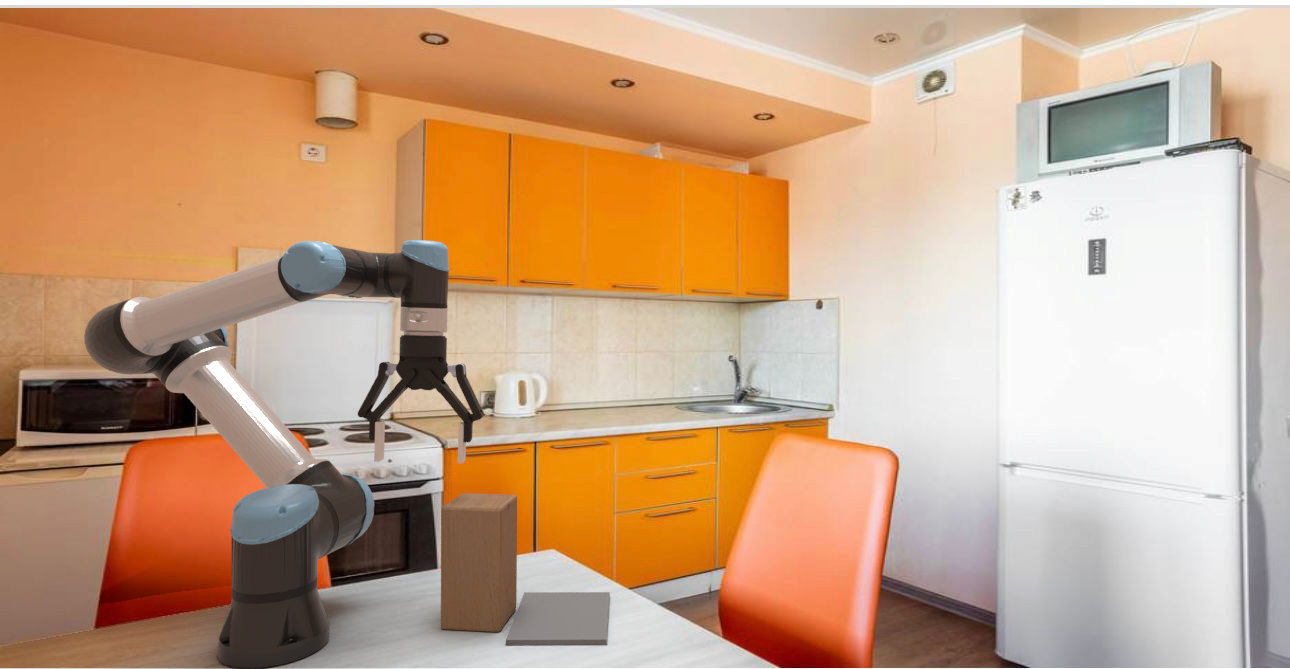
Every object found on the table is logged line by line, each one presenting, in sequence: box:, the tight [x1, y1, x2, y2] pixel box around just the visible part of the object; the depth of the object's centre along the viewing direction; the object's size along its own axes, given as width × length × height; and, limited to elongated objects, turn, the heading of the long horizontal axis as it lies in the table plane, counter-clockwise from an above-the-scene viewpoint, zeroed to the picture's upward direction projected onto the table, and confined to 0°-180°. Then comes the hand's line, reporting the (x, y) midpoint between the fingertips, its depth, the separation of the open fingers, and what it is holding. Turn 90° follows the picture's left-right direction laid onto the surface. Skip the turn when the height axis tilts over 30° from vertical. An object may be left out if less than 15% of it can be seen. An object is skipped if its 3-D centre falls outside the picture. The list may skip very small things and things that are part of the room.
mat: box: [505, 591, 611, 646], centre depth 120 cm, size 16×20×1 cm
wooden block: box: [440, 492, 518, 633], centre depth 120 cm, size 10×10×20 cm
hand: (420, 461), depth 120 cm, fingers open, 13 cm apart
